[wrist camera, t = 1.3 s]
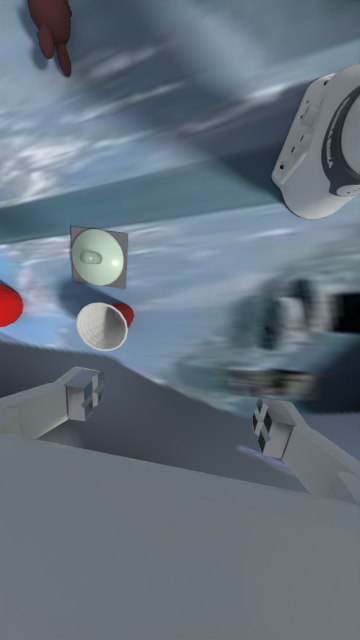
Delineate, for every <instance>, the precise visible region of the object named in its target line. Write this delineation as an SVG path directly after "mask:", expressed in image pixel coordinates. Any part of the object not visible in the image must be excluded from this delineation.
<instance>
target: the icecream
mask: <svg viewBox="0 0 360 640" xmlns="http://www.w3.org/2000/svg"><path fill="white" fill-rule="evenodd" d="M27 1H28V6H29V11H30V16H31V18H32V20H33V21H34V23H35V25H36V26H37V28H38V29H39V32H37V37H38V40H39V45H40V48H41V51H42V53H43V54H44V56H45V57H46V58H47V59H51V58H53V55H54V45H56V46H57V54H58V59H59V62H60V65H61V68H62V70H63V72H64V74H65V75H66V76H68V77H69V76H70V74H71V63H70V59H69V56H68V52H67V50H66V48H65V45H64V44H66V43H67V42H68V40H69V37H70V26H71V20H70V18H71V16H72V12H71V9H70V6H69V4H68V0H27Z"/></svg>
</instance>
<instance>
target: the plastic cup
mask: <svg viewBox="0 0 360 640" xmlns="http://www.w3.org/2000/svg"><path fill="white" fill-rule="evenodd" d="M133 317H134V314H133V310H132V309H131V307H129V306H128V305H126V304H105V303H91V304H89V305H87V306H85V307H84V308H82V310H81V311H80V313H79V314H78V316H77V324H76V326H77V329H78V333H79V335H80V336H81V338H82V339H83V341H84V342H85V343H86V344H88V345H89V346H91V347H92V348H94V349H97V350H101V351H111V350H114V349H116V348H118V347H120V346H121V345H122V344H123V342H124V341H125V340H126V337H127V332H128V328H129V326H130V324H131V322H132V321H133Z"/></svg>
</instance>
